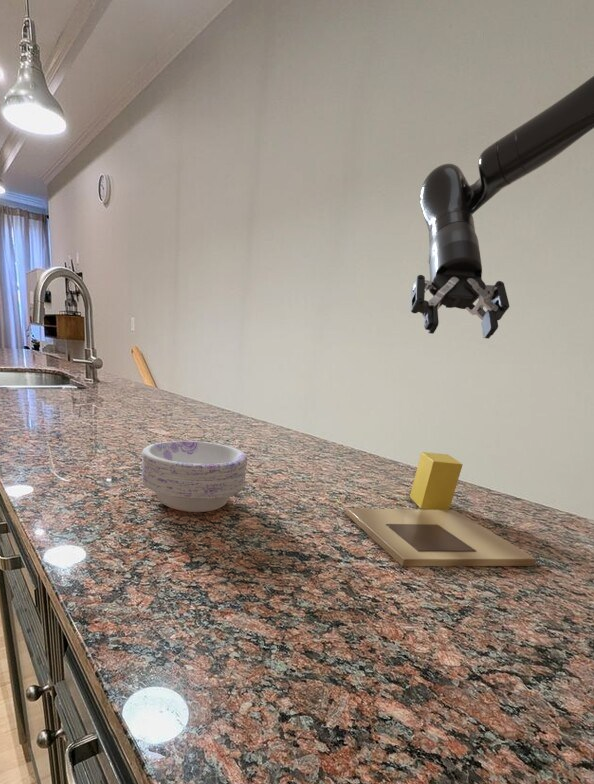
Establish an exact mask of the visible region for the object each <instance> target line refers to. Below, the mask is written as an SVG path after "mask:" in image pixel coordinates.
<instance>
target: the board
mask: <svg viewBox="0 0 594 784" xmlns="http://www.w3.org/2000/svg"><path fill="white" fill-rule="evenodd" d="M345 514H346V516H347V517H348V518H350V520H351V521H353V522H354V523H355V524H356V525H357V526H358V527H359V528H360V529H361V530H362V531H364V533H365V534H367V535H368V536H369V538H371V539H372V540H373V541H374V542H375V543H376V544H377V545H378V546H379V547H381V548H382V549H383V550H384V551H385V552H386V553H387V554H388V555H389V556H391V558H393V559H394V560H395V561H396V562H397V563H398V564H399V565H400V566H401V567H534V566H535V565H536V563H537V560H538V559H537V558H536V557H534V556H532V555H531V554H529V552H528V553H527V552H526V551H525V550H523V549H521V548H520V547H518V546H516V545H514V544H512V543H511V542H509V541H507V540H506V539H505V538H503V537H501V536H499V535H497V534H496V533H494V532H492V531H491V530H489V529H488V528H485V527H484V526H482V525H481V524H478V523H477V522H475V521H474V520H472V519H470V518H469V517H467V516H465V515H464V514H462V513H460V512H458V511H457V510H455V509H449V510H427V509H420V508H419V509H416V508H415V509H413V508H409V509H408V508H355V507H354V508H353V507H352V508H351V507H347V508H346V513H345Z"/></svg>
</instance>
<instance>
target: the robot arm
mask: <svg viewBox="0 0 594 784" xmlns="http://www.w3.org/2000/svg"><path fill="white" fill-rule="evenodd" d="M593 129H594V75H593V76H591V77H590V78H589V79H588V80H586V81H584V82H583V83H582V84H580V85H579V86H578V87H576V88H575V89H574V90H572V91H571V92H569V93H568V94H567V95H565V96H564V97H562V98H561V99H559V100H558V101H556V102H555V103H553V104H552V105H550V106H549V107H547V108H546V109H544V110H542V111H541V112H539V113H538V114H536V115H535V116H534V117H532V118H531V119H529V120H527V121H526V122H525V123H523V124H522V125H519V126H518V127H516V128H515V129H513V130H512V131H510V132H508V133H507V134H506V135H504V136H503V137H501V138H499V139H498V140H496V141H494V143H492V144H490V145H489V146H488V147H486V148H485V149H484V150H483V151H482V152H481V153H480V155H479V158H478V163H477V164H478V165H477V166H478V167H477V168H478V175H479V178H477V180H476V181H475V182H474V183H472V184H471V185H470V183H469V181H468V180H467V178H466V177H465V175H464V172H463V171H462V169H461V168H460V167H459V166H458V165H456V164H454V163H442V164H440V165H439V166H436V168H434V169H432V170H431V171H430V172H429V174H428V175H427V176H426V177H425V179H424V181H423V183H422V185H421V187H420V190H419V191H420V192H419V204H420V208H421V212H422V215H423V218H424V221H425V223H426V226H427V230H428V243H429V245H428V246H429V250H428V266H429V277H430V278H429V280H427V279H426V277H425V276H424V275H423V274H418V275H417V277H416V278H415V281H414V283H413V284H412V287H411V295H410V297H411V298H410V312H411V313H412V314H418V313H420V314H421V315H422V317H423V326H424V327H423V328H424V330H426V331H427V334H434V333H436V330H437V328H438V326H439V323H440V321H439V311H438V310H439V309H440V308H441V307H442V306H443V307H445V309H446V308H447V309H453V308H456V309H460V310H466V311H467V312H468V313H469V314H470V315H472V316H475V315H476V316H477V317H478V318H479V320H481V321H480V322H481V323H480V324H481V332H482V338H483V339H490V338H491V337H492V336H493V335H494V334H495V332H496V331H497V330H498V328H499V321H500V320H501V319H502V318H503V316H504V315H505V313H506V312H507V310H509V308H510V303H509V302H510V301H509V298H508V294H507V290H506V285H505V282H504V281H501V280H498V281H496V283H495V284H494V285H493V284H486V283H485V282H484V281H483V278H482V277H483V266H482V259H481V251H480V244H479V239H478V235H477V233H476V227H475V221H474V216H473V215H474V214H475V213H476V212H477V211H478V210H479V209H481V207H483V206H484V205H485V204H486V203H487V202H489V201H490V200H491V199H492V198H494V196H495V195H497V194H498V193H499V192H501V191H502V190H503V189H505V188H506V187H508V186H510V185H512V184H514V183H515V182H517V181H518V180H521V179H522V178H523V177H525V176H527V175H529V174H531V173H532V172H534V171H536V170H537V169H539V168H541V167H542V166H545V164H547V163H549V162H550V161H551V160H553V159H555V158H556V157H557V156H559V155H560V154H561V153H563V152H564V151H565V150H567V149H568V148H569V147H571V146H572V145H573V144H574V143H576V142H577V141H579V140H580V139H581V138H582V137H583V136H585V135H586V134H588V133H589V132H591V131H592V130H593ZM427 290H428V291H429V293H430V294H431V296H432V297H431V299H429V300H425V297H426V296H425V294H426V292H427ZM477 300H478V301H477ZM476 301H477V303H476V304H474V303H475V302H476ZM485 309H486V310H485Z"/></svg>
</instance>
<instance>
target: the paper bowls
mask: <svg viewBox="0 0 594 784" xmlns="http://www.w3.org/2000/svg"><path fill="white" fill-rule="evenodd" d="M141 456H142V458H141V460H142V461H141V482H142V485H143V486H144V487H145V488H147V489H148V490H150V491H152V492H154V493H155V496H156V498H157V499H158V500H159V503H161V504H163V505H164V506H166V507H168V508H170V509H173V510H175V511H176V510H177V511H181V512H187V513H207V512H212V511H216V510H218V509H221V508H223V507H224V506H225V505H226V504H227V503H228V502H229V500H230V498H231V497H232V496H236V495H237V494H240V493H241V492H242V491H243V490H244V488H245V484H246V483H245V482H246V475H247V472H246V471H247V465H248V456H247V455H246V453H245V452H244V451H242V450H240V449H238V448H236V447H233V446H230V445H225V444H221V443H214V442H207V441H195V440H174V441H162V442H156V443H152V444H149V445H147V446H145V447H144V448H143V450H142V452H141Z"/></svg>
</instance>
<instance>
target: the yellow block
mask: <svg viewBox="0 0 594 784" xmlns="http://www.w3.org/2000/svg"><path fill="white" fill-rule="evenodd" d="M463 465H464V464H463V463H462V462H460V461H458V460H457V459H456V458H454V457H453V456H451V455H449V454H448V453H447V454H446V453H437V452H436V453H435V452H425V451H421V452H420V456H419V460H418V464H417V467H416V471H415V475H414V479H413V482H412V486H411V489H410V490H411V492H410V495H409V497H410V499H411V500H412V501H413V502H414V503H415V504H416V506H418V507H419V509H420V510H451V505H452V501H453V498H454V496H455V491H456V488H457V485H458V483H459V478H460V475H461V471H462V468H463Z"/></svg>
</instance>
